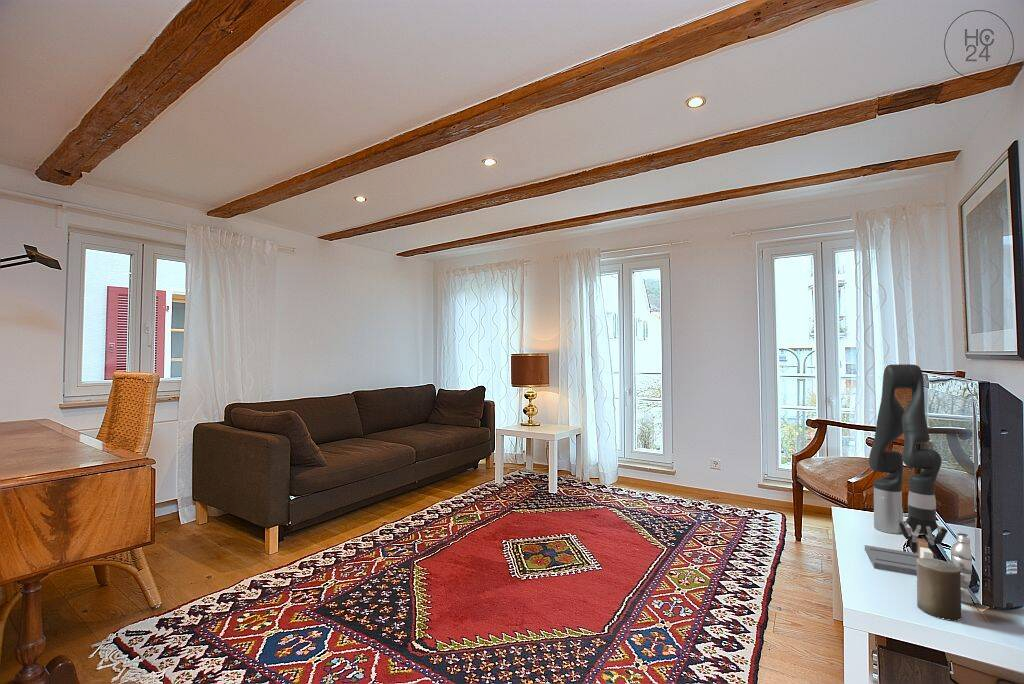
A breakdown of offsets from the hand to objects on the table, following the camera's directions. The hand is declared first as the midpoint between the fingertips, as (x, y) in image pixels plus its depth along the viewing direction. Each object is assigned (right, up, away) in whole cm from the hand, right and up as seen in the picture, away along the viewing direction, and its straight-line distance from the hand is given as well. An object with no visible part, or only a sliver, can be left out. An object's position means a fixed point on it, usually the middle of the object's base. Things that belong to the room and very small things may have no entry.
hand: (922, 552), depth 167 cm
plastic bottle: (-8, -4, -25) cm, 26 cm away
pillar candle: (-21, -4, -30) cm, 37 cm away
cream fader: (-5, -1, -7) cm, 9 cm away
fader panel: (-7, -4, -1) cm, 8 cm away
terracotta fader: (0, -1, 0) cm, 1 cm away
